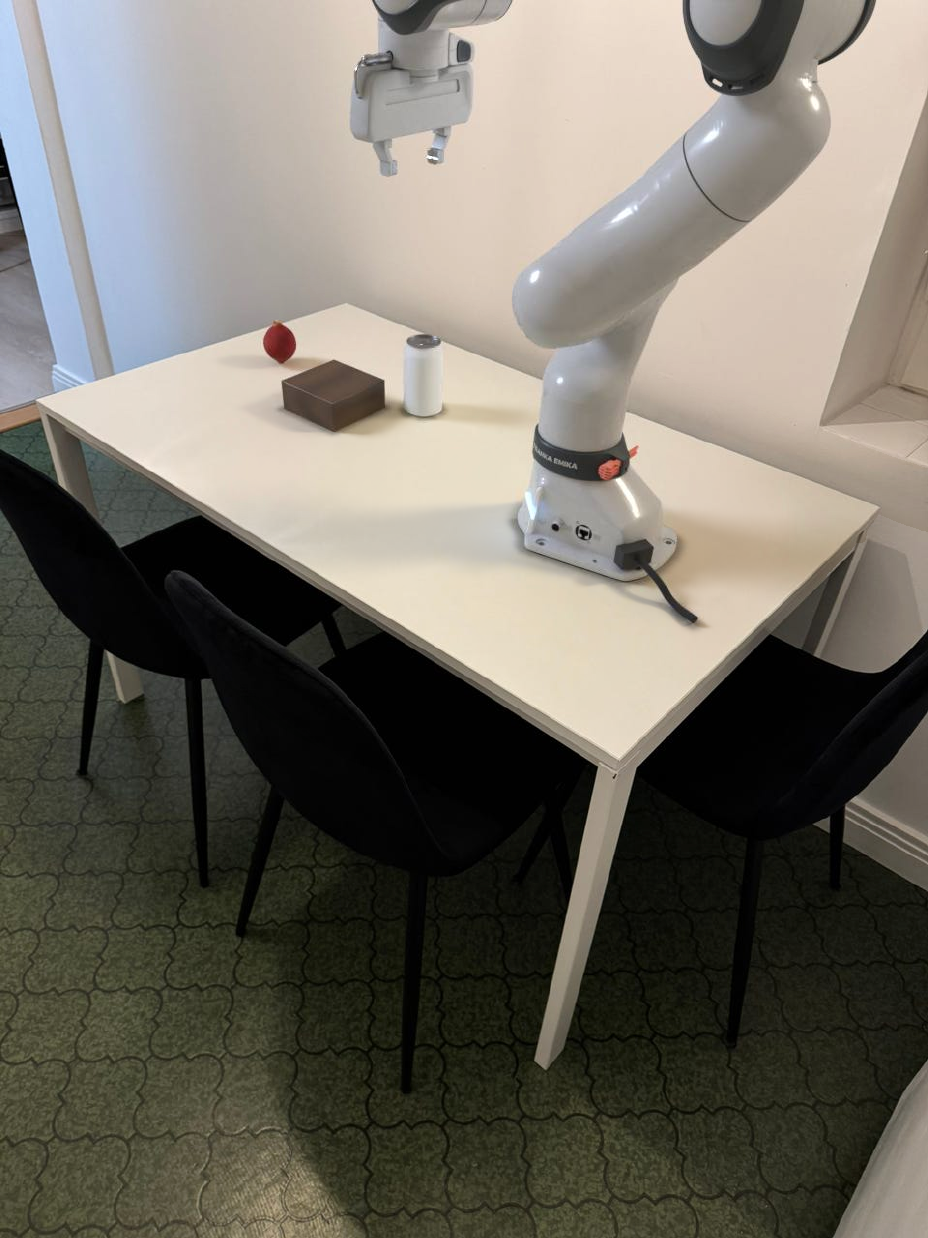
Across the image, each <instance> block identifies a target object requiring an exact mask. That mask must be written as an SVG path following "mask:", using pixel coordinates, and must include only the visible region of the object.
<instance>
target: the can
mask: <svg viewBox="0 0 928 1238" xmlns="http://www.w3.org/2000/svg"><path fill="white" fill-rule="evenodd" d="M405 343H406V344H405V345H404V347H403V408H404V410H405V411H406V413H408V414H409V415H411V416H413V417H417V418H430V417H434V416H436V415H438V414H439V413H441V411H442V409H443V391H444V390H443V388H444V387H443V385H444V348H443V346H442V340H441V338H440V337H438V336H435V335H433V334H427V333H420V334H419V333H417V334H413V335H410V336H409V337H407V338H406V340H405Z"/></svg>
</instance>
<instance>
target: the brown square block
mask: <svg viewBox="0 0 928 1238" xmlns="http://www.w3.org/2000/svg"><path fill="white" fill-rule="evenodd" d="M385 385H386V383H385V379H382V378H380V377H377V376H375V375H373V374H370V373H368V372H365V371H363V370H361V369H359V368H356V367H353V366H352V365H348V364H346V363H344V362H341V361H339V360H336V359H331V360H329V361H327V362H324V363H321V364H319V365H317V366H313V367H312V368H309V369H307V370H305V371H302V372H300V373H297V374H295V375H292V376H290V377H288V378H285V379H282V380H281V392H282V401H283V409H284V410H286V411H288V412H291V413H293V414H295V415H297V416H299V417H301V418H303V419H304V420H307V421H310V422H311V423H314V424H316V425H317V426H320V427H322V428H324V429H326V430H328V431H331V432H333V433H335V432H337V431H340V430H341V429H344V428H346V427H348V426H350V425H352V424H354V423H356V422H359V421H360V420H362V419H364V418H366V417H369V416H371V415H373V414H375V413H377V412H379V411H381V410H383V409H385V408H386V389H385V387H386V386H385Z"/></svg>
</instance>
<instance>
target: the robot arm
mask: <svg viewBox="0 0 928 1238" xmlns="http://www.w3.org/2000/svg"><path fill="white" fill-rule="evenodd" d="M513 1H514V0H371V2H372V4H373V6H374V8H375V10H376V12H377V52H376V53H374V54H372V53H367V54H363V56H361V57H360V60H359V61H358V62H357V64H356V66H354V69H353V79H352V85H351V90H350V91H351V93H350V105H349V131H350V133H351V134H352V137H353V138H354V139H355V140H358V141H362V142H364V143H368V144H369V143H370V144H372V149H373V150H374V152H375V154H376V157H377V159H378V160H379V173H380V175H381V176H383V177H387V178H388V177H393V176H396V175H397V174H398V169H397V168H398V160H395V159H393V156H392V154H391V151H390V149H392V148H393V139H397V138H402V137H407V136H412V135H416V134H421V133H425V132H430V131H432V133H433V134H434V136H433V141H432V143H431V147H429V148H427V162H428V164H431V165H440V164H443V163H444V162H445V149H446V148H447V145H448V143H449V140H450V138H451V135H452V126H457V125H462V124H466V123H467V122H468V121H469V119H470V117H471V114H472V112H473V104H474V103H473V101H474V71H473V67H472V65H471V64H470V63H472V62H473V61H474V60H475V55H476V45H475V44H474V43H473V42H472V41H470V40H467V39H465V38H463V37H461V36H459V35H457V34H455V33H453V32H450V30H451V29H455V28H456V29H457V28H466V27H467V28H468V27H476V26H484V25H488V24H490V23H492V22H496V21H499V20H501V18H502V17H504V16H505V15H506V13H507V12H508V10H509V9H510V7H511V5H512V3H513ZM876 4H877V0H682V18H683V24H684V28H685V32H686V35H687V39H688V41H689V43H690V46H691V48H692V50H693V52H694V54H695V55H696V57H697V58H698V59H699V60H698V61H700V66H701V71H702V75H703V79H704V82H705V83H706V85H707V86H708V87H709V88H710V89H712V90H713V91H715V92H716V93H719V94H720V95H719V97H718V98H717V99H716V101H715V102H714V103H713V105H712V106H710V108H709V109H708V110H707V111H706V112H705V113H704V114H703V115H702V116H701V117H700V118H699V119H698V120H697V121H696V122H695V123H694V124H693V125H692V126H691V127H690V128H689V129H687V130H686V131H685V133H683V134H682V135H681V136H680V137H679V138H678V139H677V140H676V141H675V142H674V143H673V144H672V145H671V146H670V147H669V148H668V149H667V150H666V151H665V152H664V153H663V154H661V156H660V157H659V158H658V159H657V160H656V161H654V163H653V164H652V165H651V166H650V167H648V169H647V170H645V172H643V173H642V174H641V175H640V176H639V177H638V178H637V179H636V180H634V182H632V183H631V184H630V185H629V186H628V187H626V188H625V189H624V190H622V191H621V192H620V193H619V194H617V195H616V196H615V197H613V198H612V199H611V200H610V201H608V202H607V203H605V204H604V205H603V206H601V207H600V208H599V209H597V210H596V211H595V212H593V214H591V215H590V216H589V217H588V218H586V219H585V220H584V221H582V222H581V223H580V224H579V225H577V226H576V227H575V228H574V229H572V230H571V231H570V232H569V233H568V234H567V235H565V236H564V237H563V238H562V239H561V240H559V241H558V242H557V243H556V244H555V245H553V246H552V247H551V248H549V250H548V251H546V252H545V253H543V254H541V256H539V257H538V258H537V259H535V260H534V261H532V262H531V263H530V264H528V266H526V267H525V268H524V269H523V270H521V272H520V273H519V275H518V276H517V278H516V279H515V281H514V284H513V288H512V294H511V307H512V313H513V316H514V320H515V323H516V324H517V326H518V328H519V330H520V331H521V333H522V334H523V336H524V337H525V338H526V339H527V340H528V341H530V342H531V343H532V344H534V345H535V346H537V347H539V348H542V349H545V350H556V351H555V353H554V355H553V356H552V357H551V359H549V361H548V364H547V365H546V368H545V370H544V372H543V375H542V384H541V393H540V394H541V395H540V404H539V415H538V422H537V423H536V425H535V427H534V431H533V433H534V434H533V441H532V450H531V454H532V458H533V463H532V469H531V473H530V478H529V482H528V486H527V490H526V492H525V496H524V498H523V501H522V504H521V506H520V508H519V511H518V512H517V523H518V526H519V528H520V530H521V531H522V533H523V535H524V538H523V546H524V548H525V549H527V550H528V551H531V552H534V553H537V554H540V555H543V556H546V557H548V558H551V559H554V560H557V561H561V562H563V563H567V564H570V565H572V566H576V567H579V568H582V569H583V570H584V569H585V570H588V571H590V572H594V573H596V574H600V575H603V576H606V577H609V578H612V579H615V580H618V581H622V582H629V581H630V582H631V581H635V580H639V579H642V578H644V577H647V576H649V577H650V579H651V580H652V581H653V582H654V584H655V585H656V586H657V589H659V591H660V593H661V595H662V596H663V599H665V601H666V602H667V603H668V604H669V606H670V607H671V608H672V609H673V610H674V611H676V612H677V613H678V614H679V615H681V616H682V617H684V618H686V619H687V620H688V621H690V623H692V624H694V623H696V622H697V621H698V617H699V616H697V615H695V614H694V613H693V612H691V611H689V610H688V608H686V607H684V606H683V605H681V604H680V602H679V601H677V599H675V597H674V596H673V595H672V593H671V592H670V590H669V588H668V586H667V584H666V583H665V581H664V580H663V578H662V577H661V576H660V575H659V574H658V572H657V570H658V569H660V568H661V567H663V566H664V565H665V563H667V562H668V561H669V559H670V558H671V557H672V556H673V554H674V553H675V551H676V549H677V543H678V540H677V539H678V537H677V536H678V535H677V533H676V532H675V531H674V530H672V529H671V528H668V527H667V526H666V525H664V508H663V503H662V501H661V499H660V498H659V497H658V495H656V493H655V492H654V491H653V490H652V489H651V488H650V486H649V485H648V484H647V483H646V481H644V479H643V478H642V477H641V476H640V475H639V473H638V472H637V471H636V470H635V468H634V467H632V465H631V459H632V458H634V457H635V456H636V455H637V454H638V451H637V450H638V449H639V445H635V446H634V447H633V448H630V449H628V446H627V441H626V437H625V434H624V432H623V431H624V426H625V425H624V424H625V421H626V420H625V419H626V413H627V408H628V403H629V397H630V392H631V387H632V384H633V380H634V375H635V373H636V370H637V367H638V365H639V362H640V360H641V357H642V355H643V353H644V349H645V347H646V345H647V342H648V339H649V337H650V335H651V332H652V330H653V327H654V325H655V323H656V320H657V318H658V315H659V313H660V311H661V310H662V307H663V306H664V304H665V303H666V301H667V300H668V298H669V296H670V294H671V293H672V292H673V291H674V289H675V288H676V286H677V284H678V282H679V279H680V277H682V276H684V275H685V274H687V273H688V272H689V271H691V270H693V269H694V268H696V267H697V266H698V265H700V264H701V263H702V262H704V261H705V260H706V259H707V258H708V257H710V256H711V255H712V254H713V253H714V252H716V251H717V250H718V249H720V248H721V247H722V246H723V245H725V244H726V243H727V242H728V241H729V240H731V238H733V237H734V236H735V235H737V234H738V233H739V232H741V230H743V229H744V228H745V227H747V226H748V225H749V224H750V223H751V222H753V221H754V220H755V219H756V218H757V217H759V216H760V215H761V214H762V213H763V212H765V211H766V210H767V209H768V208H769V207H770V206H771V205H772V204H773V203H775V202H776V201H777V200H778V199H779V198H780V197H781V196H783V194H784V193H785V192H786V191H787V190H788V189H789V188H790V187H791V186H792V185H793V184H794V183H795V182H796V181H797V180H798V179H799V178H800V176H801V175H802V174H803V173H804V172H805V171H806V170H807V169H808V168H809V167H810V165H811V164H812V163H813V162H814V161H815V159H816V158H817V157H818V156H819V155H820V153H821V152H822V151H823V149H824V147H825V146H826V144H827V142H828V139H829V136H830V133H831V127H832V126H831V125H832V123H831V122H832V121H831V119H832V118H831V112H830V111H831V110H830V107H829V103H828V100H827V98H826V96H825V93H824V91H823V90H822V88H821V86H820V85H819V84H818V83H819V78H818V66H820V65H823V64H826V63H827V62H830V61H831V60H833V59H835V58H836V57H838V56H840V55H841V54H843V53H844V52H845V51H847V50H848V49H849V48H850V47H851V46H852V45H854V43H855V42H856V41H857V40H858V39H859V38H860V37H861V35H862V34H863V32H864V30H865V29H866V27H867V25H868V24H869V22H870V20H871V18H872V16H873V13H874V11H875V7H876ZM714 80H716V81H717V82H718V83H720V84H721V86H720V85H719V84H716V83H715V82H714Z"/></svg>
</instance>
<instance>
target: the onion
mask: <svg viewBox="0 0 928 1238" xmlns="http://www.w3.org/2000/svg"><path fill="white" fill-rule="evenodd" d="M272 323H273V325H272V326H270V327H269V328H268V329H267V330H266V332H265V333H264V335H263V338H262V339H263V340H262V345H263V349H264V351H265V353H266V355H268V356H269V357H270V358H272V359H273V361H276V362H277V363H278V364H284V363H285V362H287V361H288V360H290V359H291V358H292V357H293V355H294V354H295V352H296V350H297V340H296V337H295V334H294V333H293V331H292V330H291V329H290V328H289V327H288V326H286V325H285V324H283V323H282V322H280V321H279V320H278V319H275V320H273V321H272Z"/></svg>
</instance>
